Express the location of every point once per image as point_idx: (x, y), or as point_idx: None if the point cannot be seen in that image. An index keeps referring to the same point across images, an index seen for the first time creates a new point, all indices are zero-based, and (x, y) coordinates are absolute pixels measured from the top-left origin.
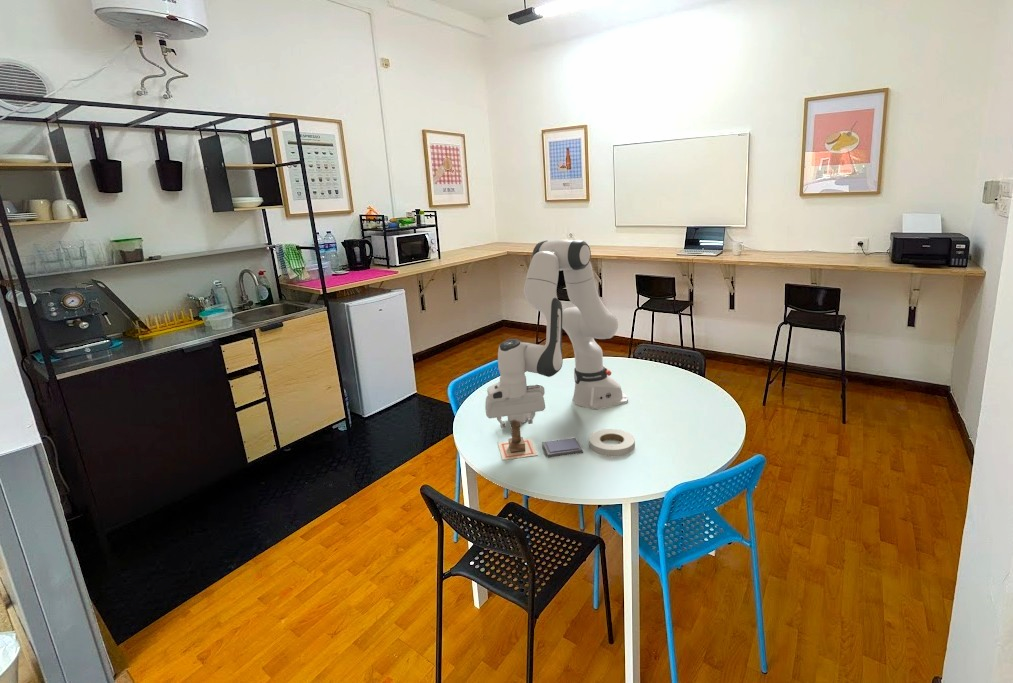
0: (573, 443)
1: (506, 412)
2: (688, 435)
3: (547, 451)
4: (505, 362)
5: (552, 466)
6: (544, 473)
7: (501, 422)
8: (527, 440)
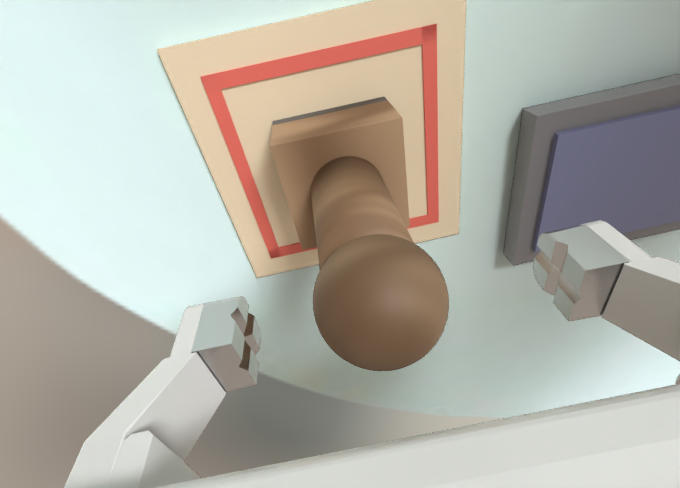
0: None
1: None
2: None
3: (523, 236)
4: None
5: (497, 310)
6: (450, 349)
7: (206, 417)
8: (429, 28)
